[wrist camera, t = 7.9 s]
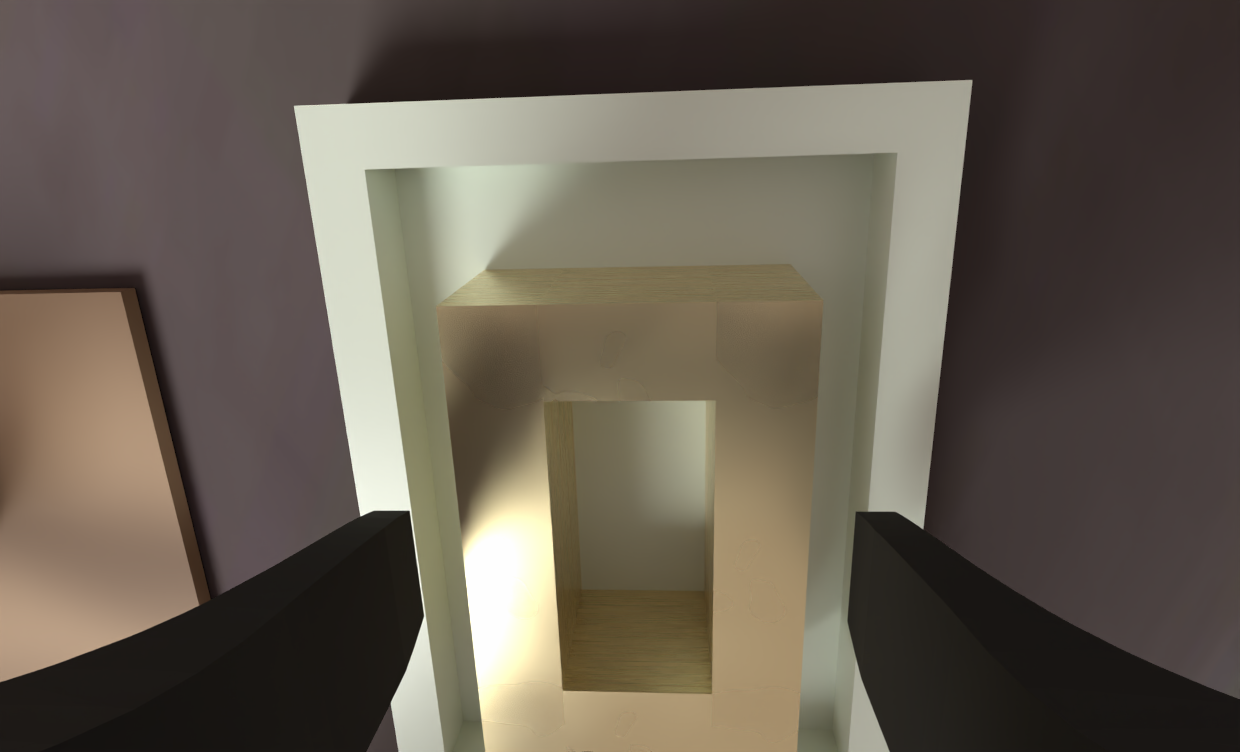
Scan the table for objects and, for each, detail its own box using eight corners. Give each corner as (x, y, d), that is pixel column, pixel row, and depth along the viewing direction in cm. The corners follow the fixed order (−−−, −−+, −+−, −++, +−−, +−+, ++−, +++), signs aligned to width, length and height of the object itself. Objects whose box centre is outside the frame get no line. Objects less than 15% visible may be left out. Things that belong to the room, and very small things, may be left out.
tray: (868, 748, 17) (891, 818, 15) (432, 737, 18) (406, 803, 16) (930, 86, 13) (972, 80, 11) (342, 109, 13) (294, 105, 12)
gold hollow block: (790, 263, 13) (823, 300, 10) (771, 696, 16) (793, 816, 13) (484, 269, 14) (436, 306, 11) (521, 691, 17) (491, 805, 14)
